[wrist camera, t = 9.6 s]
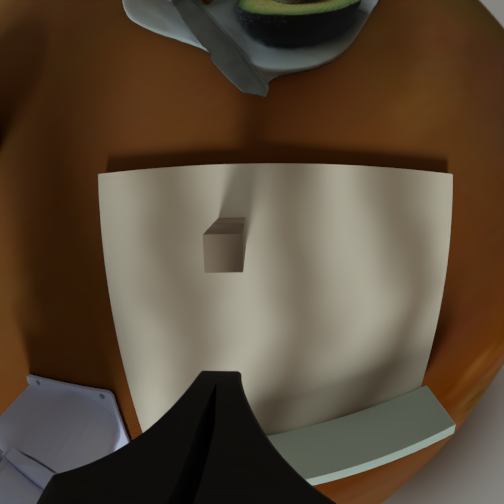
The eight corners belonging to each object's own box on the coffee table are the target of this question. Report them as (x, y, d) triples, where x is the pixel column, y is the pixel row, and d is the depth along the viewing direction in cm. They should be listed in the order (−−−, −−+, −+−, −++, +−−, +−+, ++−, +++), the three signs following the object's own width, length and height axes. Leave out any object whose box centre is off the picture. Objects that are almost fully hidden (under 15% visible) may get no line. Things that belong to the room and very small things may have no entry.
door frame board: (155, 455, 23) (139, 508, 16) (105, 174, 17) (44, 174, 11) (392, 445, 23) (415, 494, 16) (444, 174, 17) (509, 176, 11)
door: (232, 440, 21) (228, 492, 15) (426, 384, 20) (456, 424, 14) (241, 457, 21) (239, 506, 16) (425, 403, 20) (452, 443, 15)
